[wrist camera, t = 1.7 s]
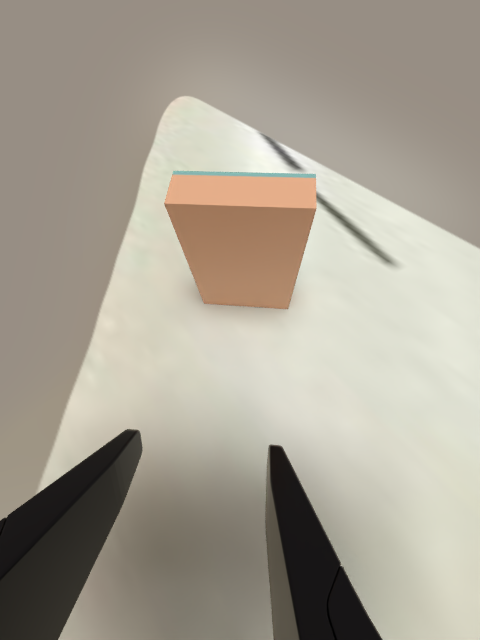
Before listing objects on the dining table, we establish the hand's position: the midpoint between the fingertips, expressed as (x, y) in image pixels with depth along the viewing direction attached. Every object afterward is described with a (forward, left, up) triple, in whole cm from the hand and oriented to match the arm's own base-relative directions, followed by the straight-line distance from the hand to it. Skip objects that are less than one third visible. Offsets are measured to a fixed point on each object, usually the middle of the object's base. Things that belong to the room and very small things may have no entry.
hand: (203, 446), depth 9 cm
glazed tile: (+6, +11, -13) cm, 18 cm away
